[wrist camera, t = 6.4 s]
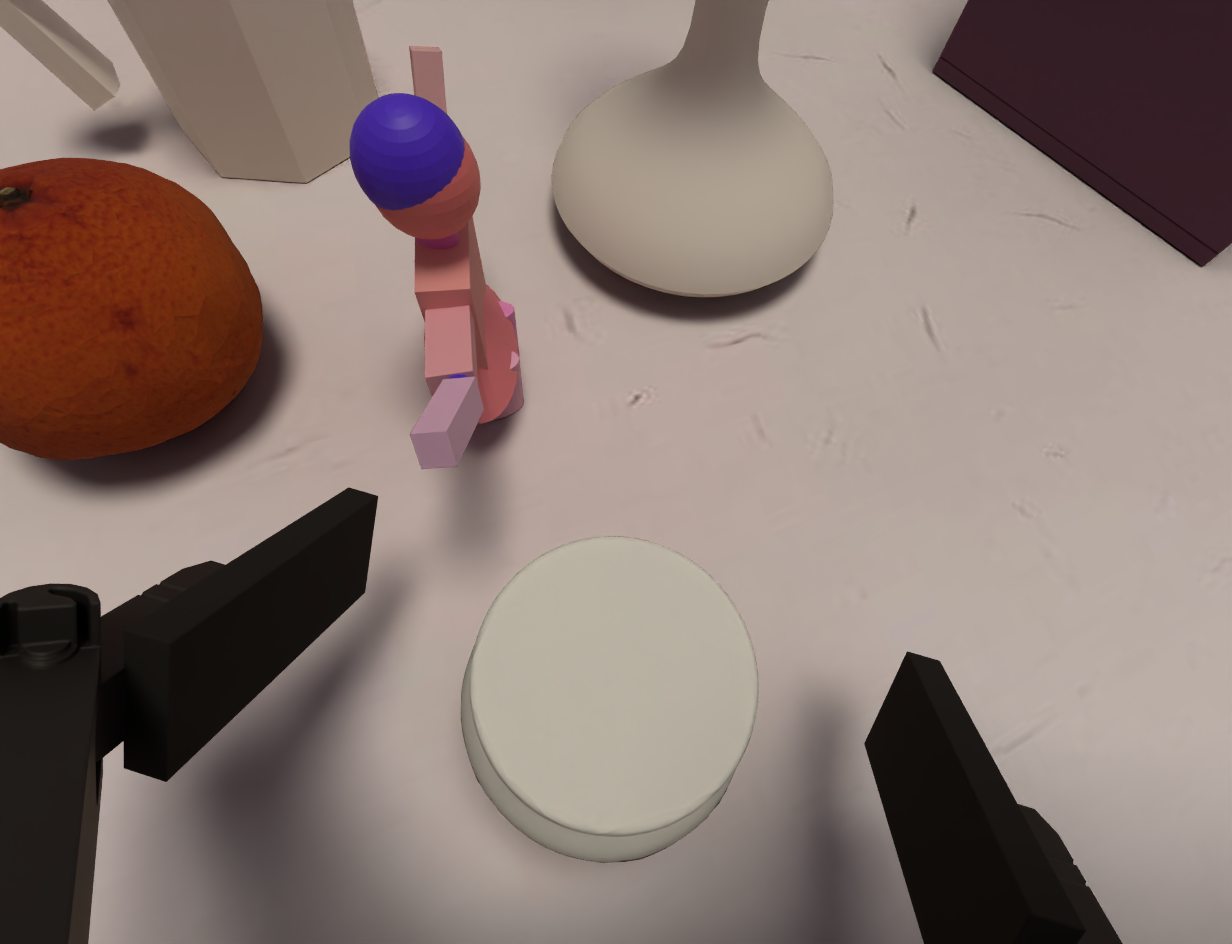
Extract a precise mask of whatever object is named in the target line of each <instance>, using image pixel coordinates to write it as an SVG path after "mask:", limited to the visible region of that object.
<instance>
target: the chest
mask: <svg viewBox="0 0 1232 944" xmlns="http://www.w3.org/2000/svg"><path fill="white" fill-rule="evenodd" d="M933 72H934V73H936V74H937V75H938V76H940V77H941V78H943V79H944V80H945V81H947V82H948V83H950V84H951V85H952V86H954V87H955V88H956V89H958V90H959V91H961V92H962V93H963V94H965V95H966V96H967V97H969V98H970V99H972V100H973V101H974V102H976V103H977V104H979V105H980V106H981V107H983V108H984V109H985V110H987V111H988V112H990V113H991V114H992V115H994V116H995V117H997V118H998V119H999V120H1001V121H1002V122H1003V123H1005V124H1006V125H1008V126H1009V127H1010V128H1012V129H1013V130H1015V131H1016V132H1017V133H1019V134H1020V135H1021V136H1023V137H1024V138H1026V139H1027V140H1028V141H1030V142H1031V143H1032V144H1034V145H1035V146H1037V147H1038V148H1039V149H1041V150H1042V151H1044V152H1045V153H1046V154H1048V155H1049V156H1050V157H1052V158H1053V159H1055V160H1056V161H1057V162H1059V163H1060V164H1062V165H1063V166H1064V167H1066V168H1067V169H1068V170H1070V171H1071V172H1073V173H1074V174H1075V175H1077V176H1078V177H1080V178H1081V179H1082V180H1084V181H1085V182H1086V183H1088V184H1089V185H1091V186H1092V187H1093V188H1095V189H1096V190H1098V191H1099V192H1100V193H1102V194H1103V195H1104V196H1106V197H1107V198H1109V199H1110V200H1111V201H1113V202H1114V203H1115V204H1117V205H1118V206H1120V207H1121V208H1122V209H1124V210H1125V211H1127V212H1128V213H1129V214H1131V215H1132V216H1133V217H1135V218H1136V219H1138V220H1139V221H1140V222H1142V223H1143V224H1145V225H1146V226H1147V227H1149V228H1150V229H1151V230H1153V231H1154V232H1156V233H1157V234H1158V235H1160V236H1161V237H1163V238H1164V239H1165V240H1167V241H1168V242H1169V243H1171V244H1172V245H1174V246H1175V247H1176V248H1178V249H1179V250H1180V251H1182V252H1183V253H1185V254H1186V255H1187V256H1189V257H1190V258H1192V259H1193V260H1194V261H1196V262H1197V263H1198V264H1200V265H1201V266H1204V265H1206V264H1207V263H1208V262H1209V261H1211V260H1212V259H1213V258H1214V257H1216V256H1217V255H1218V254H1219V253H1220V252H1222V251H1223V250H1224V249H1225V248H1226V247H1228V246H1229V245H1230V244H1231V243H1232V0H968V2H967V4H966V6H965V8H964V10H963V12H962V14H961V16H960V18H959V20H958V22H957V24H956V25H955V27H954V29H953V31H952V33H951V35H950V37H949V39H948V41H947V43H946V45H945V47H944V49H943V51H942V53H941V57H940V58H939V60H938V62H937V63H936V65H935V67H934V69H933Z"/></svg>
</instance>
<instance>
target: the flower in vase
mask: <svg viewBox="0 0 1232 944" xmlns="http://www.w3.org/2000/svg"><path fill="white" fill-rule="evenodd" d="M767 4H768V0H696V1H695V6H694V11H693V16H692V21H691V26H690V29H689V32H688V35H687V38H686V40H685V43H684V46H683V48H682V50H681V51H680V53H679V54H678V56H677V57H676V58H675V59H674V60H673V61H671V62H670V63H668V64H666V65H664V66H662V67H659V68H656V69H653V70H651V71H648V72H646V73H643V74H641V75H638V76H636V77H634V78H631V79H629V80H626V81H624V82H622V83H620V84H619V85H617V86H615V87H613V88H612V89H610V90H609V91H607V92H606V93H605V94H603V95H602V96H600V97H599V98H598V99H596V100H595V101H593V102H592V103H591V104H589V105H588V106H587V107H586V108H585V109H584V110H582V111H581V112H580V113H579V114H578V115H577V117H576V118H575V119H574V120H573V122H572V123H571V124H570V126H569V128H568V130H567V132H566V133H565V135H564V137H563V140H562V142H561V144H560V146H559V148H558V151H557V154H556V157H555V160H554V163H553V170H552V191H553V195H554V199H555V204H556V206H557V208H558V211H559V213H560V216H561V218H562V219H563V221H564V223H565V224H566V226H567V227H568V229H569V231H570V232H571V233H572V234H573V235H574V237H575V238H576V239H577V240H578V241H579V242H580V244H581V245H582V246H583V247H584V248H585V249H586V250H587V251H588V252H590V253H591V254H592V255H593V256H594V257H595V258H596V259H597V260H598V261H599V262H601V263H602V264H603V265H605V266H606V267H608V268H609V269H611V270H612V271H613V272H615V273H617V274H619V275H621V276H622V277H624V278H626V279H628V280H630V281H632V282H635V283H637V284H640V285H642V286H645V287H648V288H651V289H654V290H657V291H661V292H664V293H670V294H675V295H680V296H690V297H721V296H729V295H737V294H741V293H745V292H749V291H753V290H755V289H758V288H761V287H763V286H766V285H768V284H771V283H773V282H776V281H778V280H780V279H782V278H784V277H786V276H787V275H789V274H791V273H793V272H794V271H795V270H797V269H798V268H799V267H801V266H802V265H804V264H805V263H806V262H807V261H808V260H809V259H810V258H811V257H812V256H813V255H814V254H815V253H816V251H817V250H818V248H819V247H820V246H821V244H822V243H823V241H824V239H825V237H826V235H827V232H828V230H829V228H830V224H831V219H832V215H833V182H832V174H831V170H830V167H829V164H828V161H827V159H826V157H825V155H824V152H823V150H822V148H821V147H820V145H819V144H818V142H817V140H816V139H815V137H814V136H813V134H812V132H811V131H810V129H809V128H808V126H807V125H806V123H805V122H804V121H803V120H802V119H801V117H800V116H799V115H798V114H797V113H796V112H795V111H794V110H793V109H792V108H791V107H790V106H789V105H788V104H787V103H786V102H785V101H784V100H783V99H782V98H781V97H780V96H779V95H778V94H777V93H775V92H774V91H773V90H772V89H771V88H770V87H769V86H768V85H767V84H766V83H765V82H764V80H763V79H762V77H761V75H760V71H759V66H758V50H759V39H760V34H761V30H762V25H763V20H764V16H765V11H766V7H767Z"/></svg>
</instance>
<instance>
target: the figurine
mask: <svg viewBox="0 0 1232 944" xmlns="http://www.w3.org/2000/svg"><path fill="white" fill-rule="evenodd" d="M409 49H410V58H411V68H412V77H413V86H414V95H410V94H404V93H394V94H388V95H385V96H382V97H380V98H378V99H376V100H374V101H372V102H371V103H370V104H368V105H367V106H366V107H365V108H364V109H363V110H362V111H361V113H360V114H359V116H358V117H357V119H356V121H355V123H354V125H353V128H352V132H351V137H350V160H351V164H352V168H353V171H354V174H355V177H356V179H357V181H358V183H359V185H360V187H361V188H362V190H363V191H364V193H365V194H366V195H367V196H368V198H369V199H370V200H371V201H372V202H373V203H374V204H375V205H376V207H377V208H378V209H379V211H380V212H381V214H382V215H383V217H384V218H386V219H387V220H388V221H389V222H390V223H391V224H392V225H393V226H394V227H396V228H397V229H399V230H401V231H402V232H404V233H406V234H408V235H410V236H413V237H415V295H416V298H417V301H418V304H419V306H420V309H421V312H422V315H423V318H424V321H425V336H424V339H425V379H426V381H427V384H428V386H429V389H430V391H431V394H432V396H433V397H432V398H431V400H430V402H429V403H428V405H427V406H426V408H425V410H424V411H423V413H422V415H421V416H420V418H419V420H418V421H417V423H416V424H415V426H414V428H413V429H412V431H411V433H410V437H411V440H412V442H413V445H414V448H415V451H416V454H417V457H418V460H419V463H420V466H421V469H430V468H444V467H457V466H458V464H459V462H460V460H461V458H462V455H463V453H464V451H465V449H466V447H467V445H468V442H469V440H470V438H471V436H472V434H473V432H474V430H475V427H476V425H477V423H486V422H489V421H492V420H495V419H499V418H503V417H506V416H509V415H511V414H513V413H515V412H516V411H518V410H519V409H520V408H521V407H522V405H523V402H524V400H523V391H522V382H521V372H520V363H519V349H518V339H517V330H516V320H515V311H514V307H513V306H512V305H511V304H509V303H506V302H502V301H501V300H500V299H499V297H498V296H497V295H496V293H495V292H494V291H493V290H492V289H491V288H490V287H489V286H488V285H486V284H485V279H484V274H483V269H482V264H481V259H480V253H479V248H478V243H477V238H476V233H475V228H474V222H473V217H472V216H473V214H474V211H475V209H476V207H477V205H478V200H479V195H480V174H479V169H478V165H477V161H476V159H475V157H474V155H473V152H472V150H471V148H470V146H469V144H468V143H467V142H466V140H465V139H464V138H463V136H462V135H461V133H460V131H459V129H458V128H457V126H456V125H455V123H454V122H453V121H452V120H451V118H450V117H449V116H448V115H447V111H446V98H445V86H444V74H443V62H442V52H441V50H440V49H439V47H418V46H409Z"/></svg>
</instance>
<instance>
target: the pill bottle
mask: <svg viewBox="0 0 1232 944" xmlns="http://www.w3.org/2000/svg"><path fill="white" fill-rule="evenodd" d="M757 703H758V671H757V664H756V658H755V653H754V649H753V645H752V642H751V639H750V636H749V633H748V631H747V628H746V626H745V623H744V621H743V620H742V618H741V616H740V614H739V612H738V610H737V608H736V606H735V605H734V604H733V602H732V601H731V599H730V598H729V596H728V595H727V593H726V592H725V591H724V590H723V588H722V587H721V586H720V585H719V584H718V583H717V582H716V581H715V579H714V578H713V577H712V576H711V575H709V574H708V573H707V572H706V571H705V570H704V569H702V568H701V567H700V566H698V565H697V564H695V563H694V562H693V561H691V560H690V559H688V558H686V557H685V556H683V555H682V554H680V553H678V552H676V551H674V550H672V549H669V548H667V547H665V546H662V545H659V544H656V543H652V542H649V541H646V540H641V539H637V538H631V537H621V536H605V537H595V538H588V539H583V540H579V541H575V542H572V543H569V544H566V545H563V546H560V547H558V548H556V549H553V550H551V551H549V552H547V553H546V554H544V555H542V556H540V557H539V558H537V559H535V560H534V561H532V562H531V563H530V564H528V565H527V566H526V567H524V568H523V569H522V570H521V571H520V572H519V573H517V574H516V575H515V576H514V577H513V578H512V580H511V581H510V582H509V583H508V584H507V585H506V586H505V587H504V588H503V590H502V591H501V592H500V593H499V595H498V596H497V598H496V599H495V600H494V602H493V603H492V605H491V607H490V609H489V611H488V612H487V614H486V616H485V618H484V621H483V623H482V625H481V628H480V631H479V634H478V636H477V640H476V643H475V645H474V647H473V650H472V653H471V656H470V658H469V661H468V664H467V667H466V671H465V675H464V679H463V686H462V694H461V723H462V731H463V736H464V741H465V745H466V749H467V753H468V756H469V759H470V762H471V765H472V768H473V770H474V773H475V775H476V778H477V781H478V782H479V783H480V785H481V786H482V788H483V790H484V791H485V793H486V794H487V796H488V797H489V798H490V800H491V801H492V802H493V804H494V805H495V806H496V807H497V809H498V810H499V811H500V812H501V813H502V815H503V816H504V817H505V818H506V819H507V820H509V821H510V822H511V823H512V824H513V825H514V826H515V827H516V828H517V829H518V830H520V831H521V832H522V833H524V834H525V835H526V836H528V837H529V838H531V839H532V840H534V841H535V842H537V843H539V844H540V845H542V846H544V847H546V848H548V849H550V850H553V851H555V852H557V853H559V854H563V855H566V856H569V857H573V858H577V859H582V860H587V861H594V862H601V863H608V862H626V861H633V860H639V859H643V858H645V857H648V856H650V855H652V854H655V853H657V852H659V851H661V850H663V849H666V848H667V847H669V846H671V845H672V844H674V843H675V842H677V841H678V840H680V839H681V838H683V837H684V836H686V835H687V834H688V833H690V832H691V831H692V830H694V829H695V828H696V827H697V826H698V825H699V824H700V823H702V822H703V821H704V820H705V819H706V818H707V817H708V816H709V814H710V813H711V812H712V811H713V809H714V808H715V807H716V806H717V805H718V804H719V802H720V800H721V799H722V797H723V795H724V794H725V792H726V790H727V787H728V785H729V783H730V781H731V779H732V777H733V774H734V772H735V770H736V767H737V766H738V764H739V762H740V760H741V758H742V756H743V754H744V752H745V750H746V747H747V745H748V742H749V740H750V737H751V733H752V730H753V726H754V722H755V717H756V711H757Z"/></svg>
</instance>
